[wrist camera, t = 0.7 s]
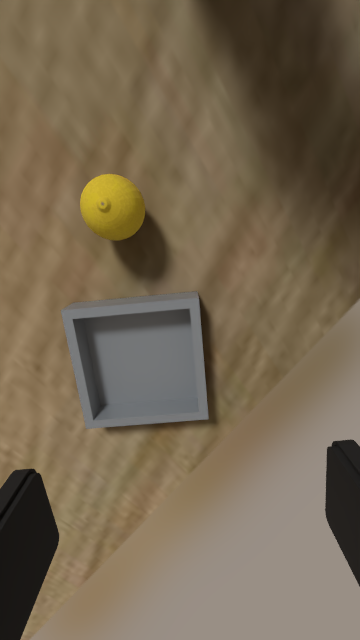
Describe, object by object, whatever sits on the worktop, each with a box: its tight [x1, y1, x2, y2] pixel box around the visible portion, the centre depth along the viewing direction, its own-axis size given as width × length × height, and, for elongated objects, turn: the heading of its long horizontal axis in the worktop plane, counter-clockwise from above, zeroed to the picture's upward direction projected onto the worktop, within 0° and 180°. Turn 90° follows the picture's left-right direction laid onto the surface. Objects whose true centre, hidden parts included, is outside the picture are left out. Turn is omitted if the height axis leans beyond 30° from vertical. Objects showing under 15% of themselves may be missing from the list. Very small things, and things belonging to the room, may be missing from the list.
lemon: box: [80, 174, 145, 240], centre depth 27 cm, size 6×6×8 cm
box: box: [61, 291, 209, 429], centre depth 33 cm, size 14×14×4 cm
